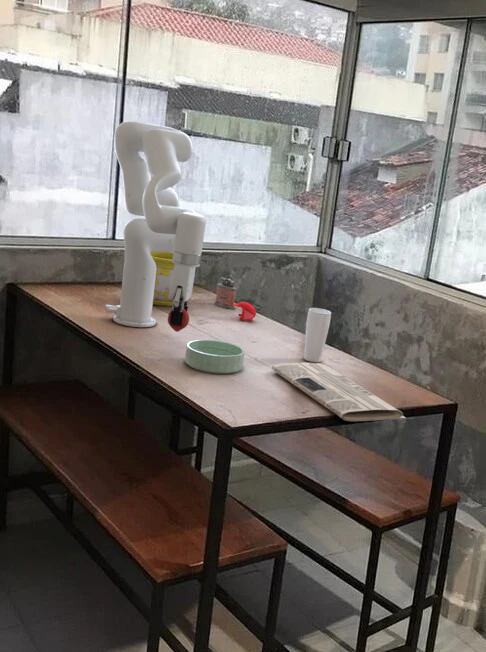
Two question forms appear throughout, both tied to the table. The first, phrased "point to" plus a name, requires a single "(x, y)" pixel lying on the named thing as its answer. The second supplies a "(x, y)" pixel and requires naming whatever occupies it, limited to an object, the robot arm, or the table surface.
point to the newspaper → (337, 392)
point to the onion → (184, 321)
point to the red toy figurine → (246, 311)
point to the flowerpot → (163, 278)
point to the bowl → (214, 356)
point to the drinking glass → (316, 333)
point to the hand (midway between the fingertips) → (178, 321)
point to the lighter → (225, 293)
